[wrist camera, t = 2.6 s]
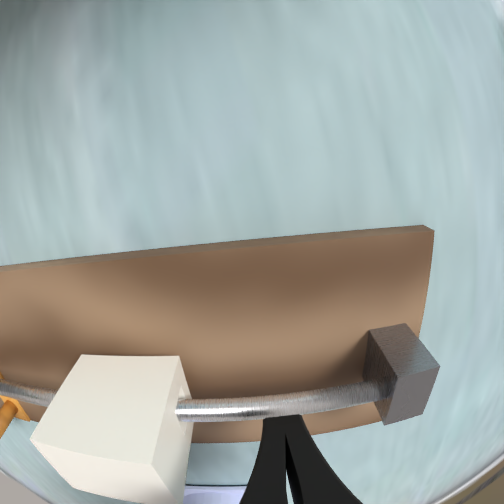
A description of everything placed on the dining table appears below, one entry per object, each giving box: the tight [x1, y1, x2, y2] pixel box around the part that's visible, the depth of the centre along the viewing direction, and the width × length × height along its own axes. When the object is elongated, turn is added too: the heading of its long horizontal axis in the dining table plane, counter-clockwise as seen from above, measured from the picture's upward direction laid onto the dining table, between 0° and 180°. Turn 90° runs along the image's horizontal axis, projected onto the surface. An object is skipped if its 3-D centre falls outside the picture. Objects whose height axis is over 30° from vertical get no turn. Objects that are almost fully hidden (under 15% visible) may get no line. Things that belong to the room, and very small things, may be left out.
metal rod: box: [0, 323, 440, 425], centre depth 12 cm, size 3×29×4 cm, turn 95°
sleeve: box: [30, 354, 194, 504], centre depth 10 cm, size 4×5×6 cm
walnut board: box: [0, 225, 434, 443], centre depth 12 cm, size 12×34×4 cm, turn 95°
